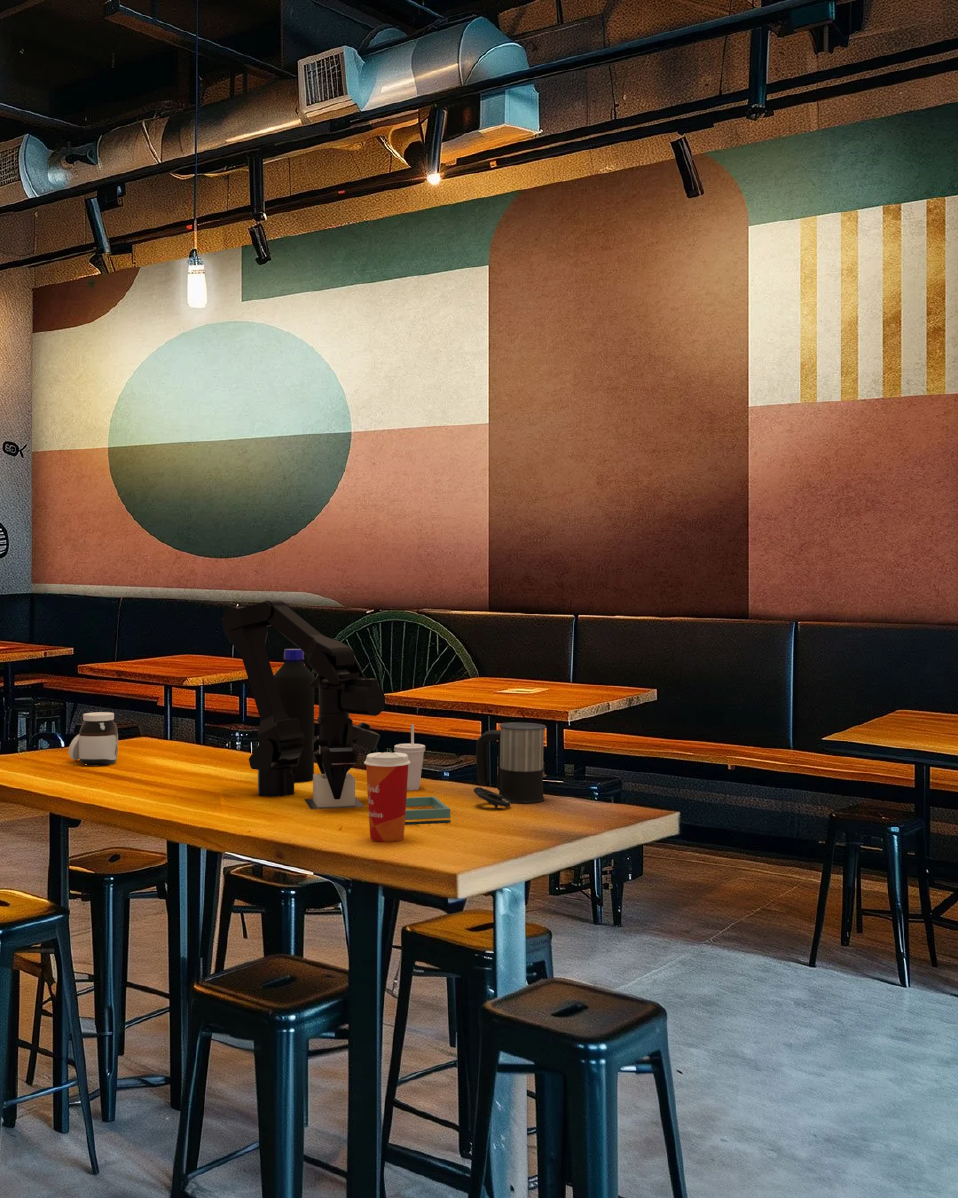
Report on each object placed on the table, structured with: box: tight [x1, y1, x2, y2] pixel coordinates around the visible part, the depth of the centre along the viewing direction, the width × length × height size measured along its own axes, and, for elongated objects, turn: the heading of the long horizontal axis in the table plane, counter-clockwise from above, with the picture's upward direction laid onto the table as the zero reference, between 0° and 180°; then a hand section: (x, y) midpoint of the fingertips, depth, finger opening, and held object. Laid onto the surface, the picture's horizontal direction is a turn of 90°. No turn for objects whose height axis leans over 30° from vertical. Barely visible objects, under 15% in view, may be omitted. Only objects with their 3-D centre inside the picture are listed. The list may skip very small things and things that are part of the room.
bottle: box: [273, 648, 315, 784], centre depth 257 cm, size 9×9×28 cm
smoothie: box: [393, 723, 426, 791], centre depth 241 cm, size 6×6×14 cm
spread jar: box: [68, 711, 119, 766], centre depth 278 cm, size 12×11×12 cm
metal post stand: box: [304, 796, 365, 810], centre depth 225 cm, size 10×10×6 cm
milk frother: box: [473, 722, 547, 809], centre depth 232 cm, size 14×16×15 cm
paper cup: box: [363, 751, 410, 843], centre depth 199 cm, size 8×8×14 cm
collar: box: [312, 772, 356, 807], centre depth 225 cm, size 7×7×5 cm
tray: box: [405, 796, 451, 826], centre depth 217 cm, size 12×12×2 cm
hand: (333, 794), depth 225 cm, fingers open, 9 cm apart
